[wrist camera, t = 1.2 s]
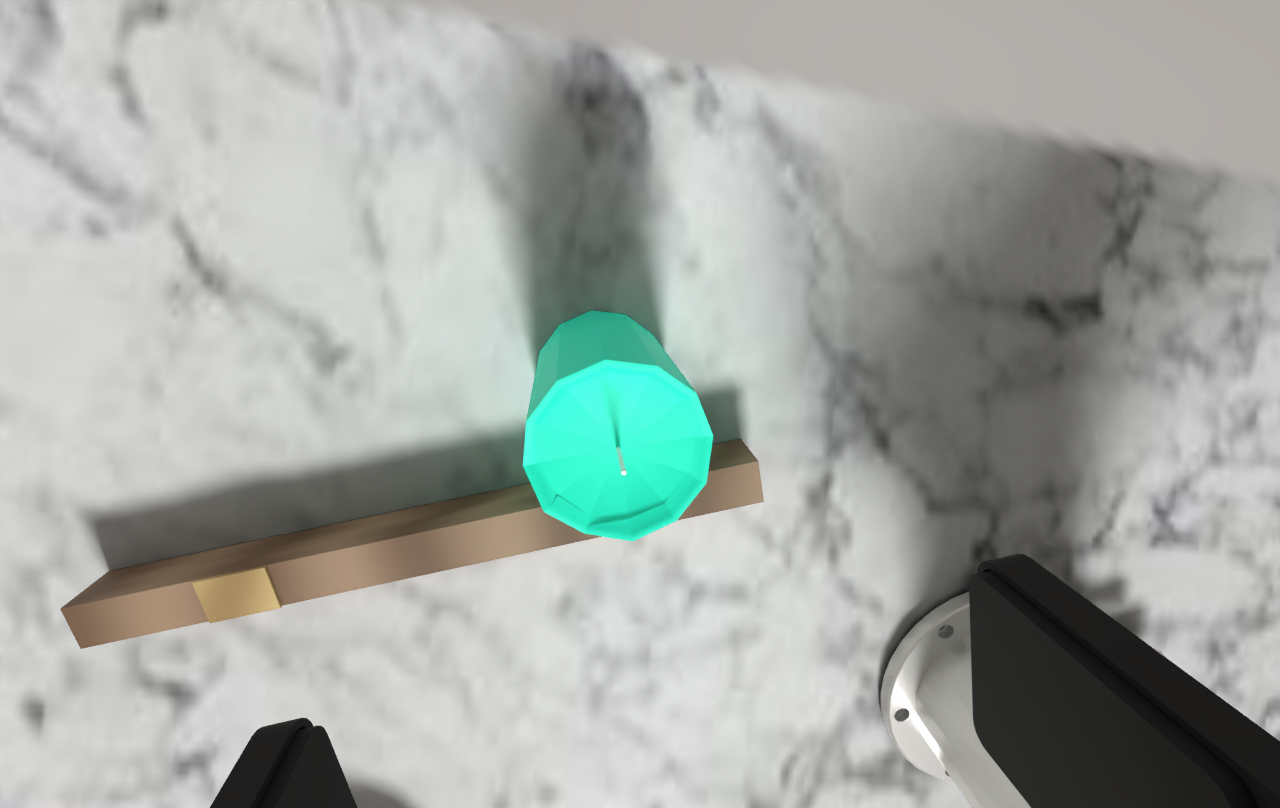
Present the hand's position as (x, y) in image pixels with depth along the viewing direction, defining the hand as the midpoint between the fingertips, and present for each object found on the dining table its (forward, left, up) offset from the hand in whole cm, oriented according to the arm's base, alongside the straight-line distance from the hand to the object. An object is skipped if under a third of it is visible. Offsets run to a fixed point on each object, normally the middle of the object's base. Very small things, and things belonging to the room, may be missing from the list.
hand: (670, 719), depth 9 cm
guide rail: (+9, +6, -22) cm, 24 cm away
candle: (0, 0, -22) cm, 22 cm away
